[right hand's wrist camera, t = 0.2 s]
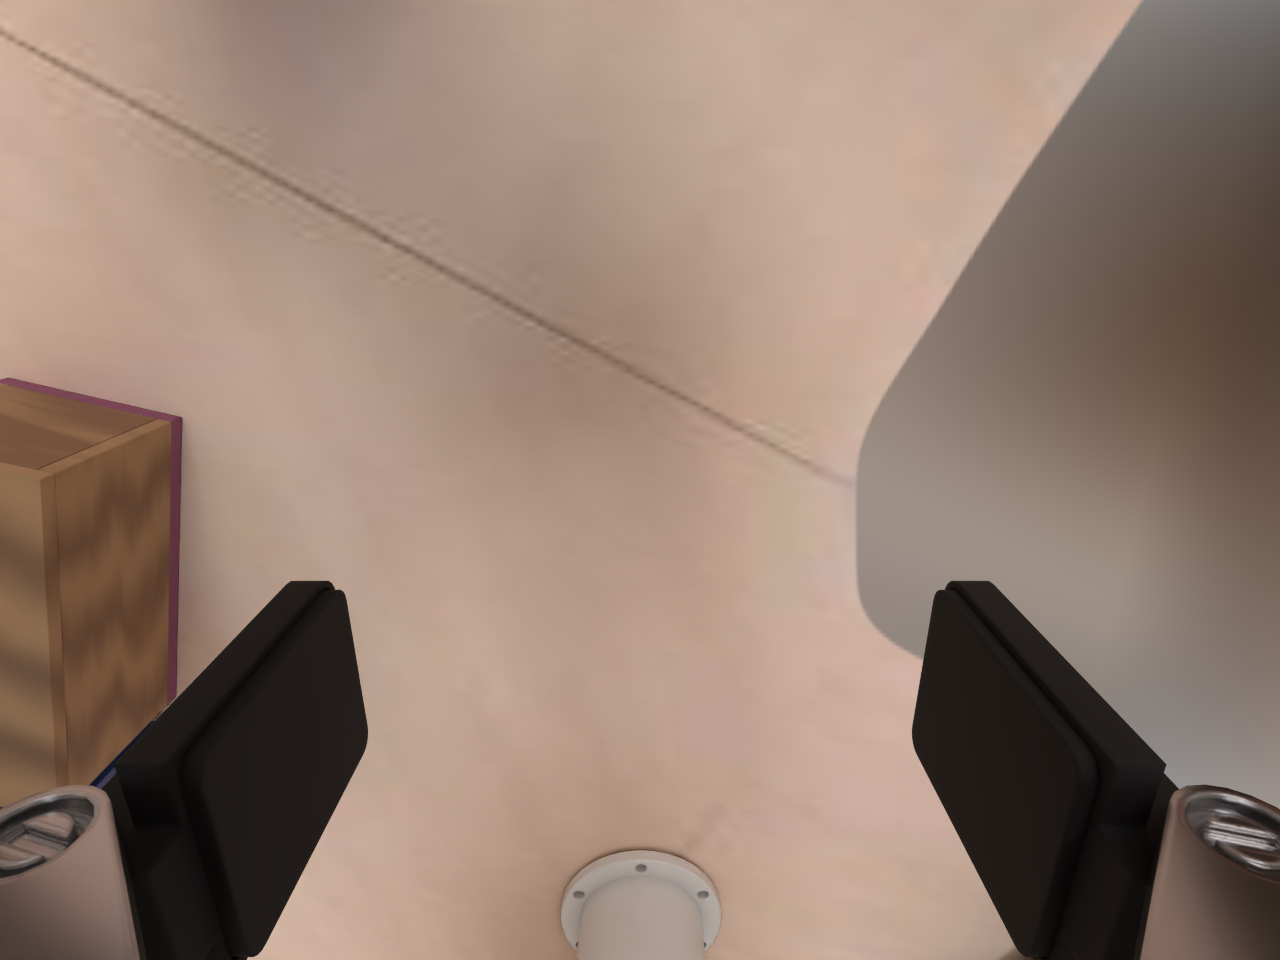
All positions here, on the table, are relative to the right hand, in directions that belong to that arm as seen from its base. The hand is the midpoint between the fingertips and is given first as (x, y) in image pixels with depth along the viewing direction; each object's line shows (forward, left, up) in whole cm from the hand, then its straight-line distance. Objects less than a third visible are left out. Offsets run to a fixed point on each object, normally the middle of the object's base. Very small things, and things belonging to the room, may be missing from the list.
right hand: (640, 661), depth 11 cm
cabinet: (-13, +35, -31) cm, 49 cm away
